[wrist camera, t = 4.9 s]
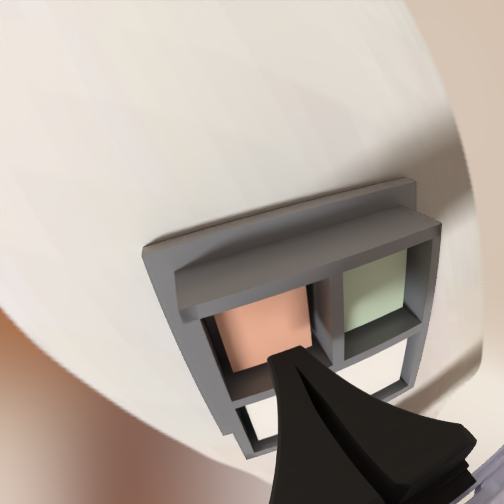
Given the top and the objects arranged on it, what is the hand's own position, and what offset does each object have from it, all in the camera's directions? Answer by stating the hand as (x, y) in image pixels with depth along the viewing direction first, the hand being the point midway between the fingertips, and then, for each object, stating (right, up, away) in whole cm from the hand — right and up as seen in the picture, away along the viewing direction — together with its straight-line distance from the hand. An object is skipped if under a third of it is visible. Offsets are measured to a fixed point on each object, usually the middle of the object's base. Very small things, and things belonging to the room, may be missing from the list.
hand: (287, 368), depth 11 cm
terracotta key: (-1, +2, +4) cm, 4 cm away
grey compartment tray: (+2, 0, +6) cm, 6 cm away
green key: (+4, +3, +4) cm, 7 cm away
